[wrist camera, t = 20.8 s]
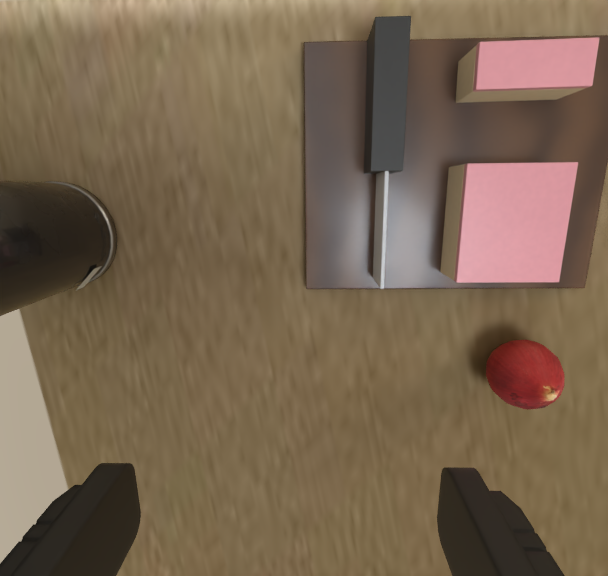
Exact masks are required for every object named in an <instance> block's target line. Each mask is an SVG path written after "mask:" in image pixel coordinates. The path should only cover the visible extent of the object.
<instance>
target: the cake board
mask: <svg viewBox="0 0 608 576" xmlns="http://www.w3.org/2000/svg"><path fill="white" fill-rule="evenodd" d="M570 38H599V45H598V51H597V58H596V65H595V71H594V78H593V85H592V86H591V87H588V88H585V89H583V90H580V91H577V92H575V93H572V94H570V95H567V96H564V97H562V98H559V99H557V100H527V101H496V102H465V103H456V89H457V74H458V62H459V61H460V60H461V59H462V58H463V57H464V56H465V55H466V54H467V53H468V52H469V51H471V50H472V49H473V48H474V47H475V46H476V45H477V44H478V43H479V42H489V41H516V40H543V39H570ZM366 73H367V41H329V42H304V109H305V219H306V289H380V287H379V286H378V284H377V283H376V282H375V280H374V279H373V258H374V229H375V199H376V174H364V150H365V111H366ZM546 162H578V167H577V174H576V180H575V186H574V192H573V198H572V205H571V211H570V217H569V223H568V229H567V236H566V242H565V248H564V254H563V260H562V267H561V273H560V279H559V282H505V283H456V282H455V281H454V280H452V279H450V278H449V277H447V276H446V275H444V274H442V273H441V272H440V271H441V258H442V246H443V233H444V221H445V209H446V196H447V184H448V172H449V167H452V166H458V165H463V164H468V163H546ZM607 162H608V35H605V36H559V37H513V38H467V39H421V40H410V45H409V65H408V85H407V104H406V124H405V144H404V164H403V171H400V172H396V173H392V174H389V181H388V205H387V229H386V253H385V277H384V289H425V288H585V285H586V279H587V274H588V268H589V262H590V257H591V251H592V246H593V240H594V235H595V229H596V223H597V218H598V212H599V207H600V201H601V196H602V190H603V184H604V179H605V173H606V168H607Z"/></svg>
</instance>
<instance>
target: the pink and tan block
mask: <svg viewBox="0 0 608 576" xmlns="http://www.w3.org/2000/svg"><path fill="white" fill-rule="evenodd" d="M598 45H599V38H570V39H543V40H516V41H489V42H479V43H478V44H477V45H476V46H475V47H474V48H473V49H472V50H471V51H469V52H468V53H467V54H466V55H465V56H464V57H463V58H462V59H461V60H460V61H459V62H458V74H457V89H456V103H465V102H496V101H527V100H557V99H559V98H562V97H564V96H567V95H570V94H572V93H575V92H577V91H580V90H583V89H585V88H588V87H591V86H592V85H593V78H594V71H595V65H596V58H597V51H598Z"/></svg>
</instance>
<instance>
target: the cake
mask: <svg viewBox="0 0 608 576" xmlns="http://www.w3.org/2000/svg"><path fill="white" fill-rule="evenodd" d="M577 167H578V162H546V163H468V164H463V165H458V166H452V167H449V172H448V184H447V196H446V209H445V221H444V233H443V246H442V258H441V271H440V272H441V273H442V274H444V275H446V276H447V277H449V278H450V279H452V280H454V281H455V282H456V283H505V282H559V279H560V273H561V267H562V260H563V254H564V248H565V242H566V236H567V229H568V223H569V217H570V211H571V205H572V198H573V192H574V186H575V180H576V174H577Z"/></svg>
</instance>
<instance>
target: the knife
mask: <svg viewBox="0 0 608 576" xmlns="http://www.w3.org/2000/svg"><path fill="white" fill-rule="evenodd" d="M410 25H411V16H393V17H375V20H374V23H373V26H372V29H371V31H370V34H369V37H368V40H367V73H366V111H365V150H364V174H376V199H375V229H374V258H373V279H374V280H375V282H376V283H377V284H378V286H379V287H380V289H384V277H385V253H386V229H387V205H388V181H389V174H392V173H396V172H400V171H403V164H404V144H405V124H406V104H407V85H408V65H409V45H410Z"/></svg>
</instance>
